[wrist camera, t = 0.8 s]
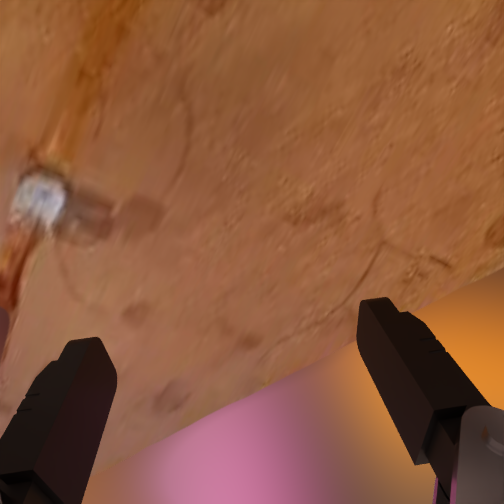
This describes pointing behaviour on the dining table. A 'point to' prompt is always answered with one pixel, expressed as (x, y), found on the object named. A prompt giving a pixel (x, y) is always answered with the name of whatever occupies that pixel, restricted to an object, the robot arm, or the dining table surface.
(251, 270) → the dining table surface
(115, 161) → the dining table surface
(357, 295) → the dining table surface
